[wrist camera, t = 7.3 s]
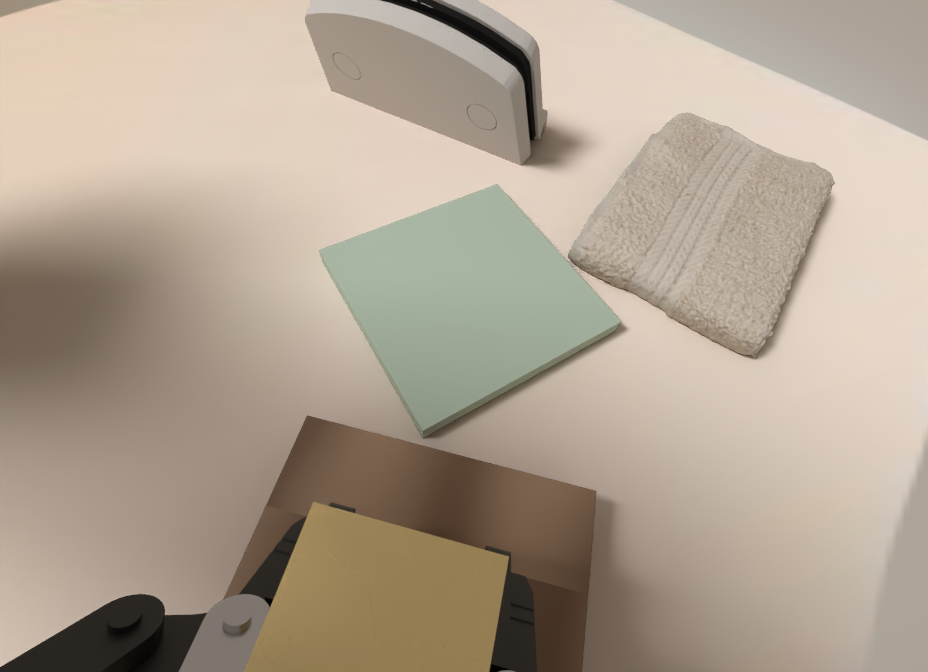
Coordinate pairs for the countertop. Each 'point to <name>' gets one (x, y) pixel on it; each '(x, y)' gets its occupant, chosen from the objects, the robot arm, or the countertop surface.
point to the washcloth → (707, 229)
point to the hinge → (436, 67)
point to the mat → (464, 303)
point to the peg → (380, 601)
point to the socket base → (446, 517)
